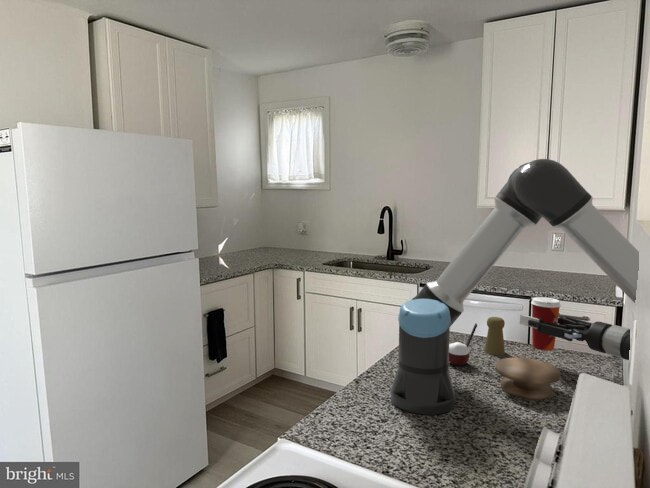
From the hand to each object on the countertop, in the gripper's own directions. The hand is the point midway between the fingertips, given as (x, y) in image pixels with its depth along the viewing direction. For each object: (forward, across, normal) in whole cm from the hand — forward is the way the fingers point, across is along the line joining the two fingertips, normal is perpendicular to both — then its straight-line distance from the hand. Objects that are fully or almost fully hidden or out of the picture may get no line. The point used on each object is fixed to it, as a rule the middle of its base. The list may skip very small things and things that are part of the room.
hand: (529, 317), depth 135 cm
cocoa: (+8, -20, -13) cm, 25 cm away
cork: (+9, -3, -13) cm, 16 cm away
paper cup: (-5, 0, -8) cm, 9 cm away
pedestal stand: (-13, -18, -13) cm, 26 cm away
